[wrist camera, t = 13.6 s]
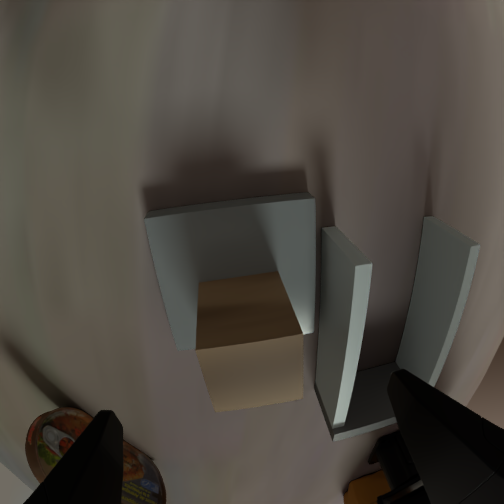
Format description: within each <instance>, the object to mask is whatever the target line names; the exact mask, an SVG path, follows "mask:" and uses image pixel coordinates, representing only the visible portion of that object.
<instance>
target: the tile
mask: <svg viewBox="0 0 504 504" xmlns="http://www.w3.org/2000/svg"><path fill="white" fill-rule="evenodd" d="M144 221H145V226H146V230H147V235H148V240H149V244H150V249H151V253H152V257H153V262H154V266H155V270H156V274H157V278H158V282H159V286H160V290H161V294H162V298H163V302H164V305H165V309H166V313H167V316H168V320H169V323H170V327H171V330H172V334H173V337H174V340H175V344H176V347H177V350H178V351H179V350H190V349H196V326H197V306H198V288H199V283H200V282H207V281H214V280H221V279H228V278H234V277H241V276H248V275H255V274H261V273H268V272H275V271H278V272H279V274H280V277H281V279H282V282H283V284H284V287H285V289H286V292H287V294H288V297H289V299H290V302H291V304H292V307H293V309H294V312H295V314H296V317H297V319H298V322H299V324H300V327H301V329H302V332H303V334H308V333H314V315H315V276H316V208H315V198H314V197H313V196H312V195H311V194H310V193H308V192H305V193H294V194H283V195H273V196H263V197H254V198H245V199H236V200H228V201H219V202H211V203H204V204H196V205H188V206H181V207H174V208H167V209H160V210H154V211H149V212H148V214H147V215H146V217H145V218H144Z"/></svg>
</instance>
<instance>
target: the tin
mask: <svg viewBox="0 0 504 504" xmlns="http://www.w3.org/2000/svg"><path fill="white" fill-rule="evenodd" d="M92 420H93V418H92V417H91V416H90V415H88V414H87V413H85V412H83V411H81V410H79V409H76V408H71V407H61V408H57V409H55V410H53V411H49V412H46V413H44V414H42V415H40V416H38V417H37V418H36V419H35V420H34V421H33V423H32V424H31V426H30V428H29V430H28V433H27V437H26V443H25V451H26V457H27V461H28V464H29V466H30V468H31V470H32V472H33V474H34V476H35V477H36V479H37V480H38V481H39V483H40V484H41V482H44V481H43V480H44V479H45V478H46V476H47V475H48V474H49V473H50V471H51V470H52V469H53V468H54V466H55V465H56V464H57V463H58V461H59V460H60V459H61V458H62V456H63V455H64V454H65V453H66V452H67V450H68V449H69V448H70V447H71V445H72V444H73V443H74V442H75V440H76V439H77V438H78V437H79V436H80V434H81V433H82V432H83V431H84V429H85V428H86V427H87V426H88V425H89V423H90V422H91V421H92ZM123 460H124V471H123V485H122V499H121V504H166V490H165V485H164V482H163V479H162V476H161V474H160V472H159V470H158V468H157V467H156V465H155V464H154V463H153V461H152V460H151V459H150V458H149V457H148V456H147V455H146V454H144V453H143V452H141V451H140V450H138V449H136V448H135V447H133V446H132V445H130V444H129V443H127V442H126V441H124V440H123Z"/></svg>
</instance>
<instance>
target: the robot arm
mask: <svg viewBox="0 0 504 504" xmlns="http://www.w3.org/2000/svg"><path fill="white" fill-rule="evenodd" d="M387 393H388V397H389V400H390V403H391V406H392V409H393V412H394V415H395V418H396V421H397V424H398V427H399V430H400V431H399V432H396V433H394V434H391V435H388V436H385V437H382V438H380V439H379V440H378V441H377V444H376V446H375V448H374V450H373V452H372V454H371V456H370V458H369V460H368V463H369V464H374V463H377V462H379V463H380V466H381V468H382V471H383V473H384V475H385V478H386V480H387V482H388V485H389V487H390V490H391V491H390V492H388V493H386V494H384V495H380V496H378V497H377V499H378V500H377V501H376V502H377V504H504V429H502V428H500V427H498V426H497V425H495V424H493V423H491V422H490V421H488V420H486V419H484V418H481V416H480V415H478V414H476V413H475V412H473V411H472V410H470V409H468V408H467V407H465V406H463V405H462V404H460V403H459V402H457V401H455V400H454V399H452V398H450V397H449V396H447V395H446V394H444V393H442V392H441V391H439V390H438V389H436V388H434V387H433V386H431V385H430V384H428V383H426V382H425V381H423V380H422V379H420V378H418V377H417V376H415V375H414V374H412V373H411V372H409V371H407V370H406V369H398V370H395V371H393V372H392V373H391V376H390V379H389V382H388V385H387ZM123 471H124V460H123V427H122V424H121V422H120V421H119V419H118V418H117V416H116V415H115V413H114V412H113V411H112V410H101V411H99V412H98V414H97V415H96V416H95V417H94V418H93V420H92V421H91V422H90V423H89V425H88V426H87V427H86V428H85V429H84V431H83V432H82V433H81V434H80V436H79V437H78V438H77V439H76V440H75V442H74V443H73V444H72V445H71V447H70V448H69V449H68V450H67V452H66V453H65V454H64V455H63V456H62V458H61V459H60V460H59V461H58V463H57V464H56V465H55V466H54V468H53V469H52V470H51V471H50V473H49V474H48V475H47V476H46V478H45V479H44V480H43V481H44V482H41V484H40V485H39V486H38V487H37V489H36V490H35V491H34V492H33V493H32V495H31V496H30V497H29V498H28V499H27V500H26V501H25V502H24V503H23V504H121V499H122V485H123Z"/></svg>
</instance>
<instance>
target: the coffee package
mask: <svg viewBox="0 0 504 504" xmlns="http://www.w3.org/2000/svg"><path fill="white" fill-rule="evenodd" d="M390 491H391V490H390V487H389V485H388V482H387V480H386V478H385V475H384V473H383V471H382V470H380V471H377V472H375V473H373V474H371V475H367V476H363V477H361V478H358V479H356V480H353V481H351V482H350V484H349V488H348V491H347V492H346V493H345V494H344V504H377V502H376V501H377V500H378V499H377V497H378V496H380V495H384V494H386V493H388V492H390Z"/></svg>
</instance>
